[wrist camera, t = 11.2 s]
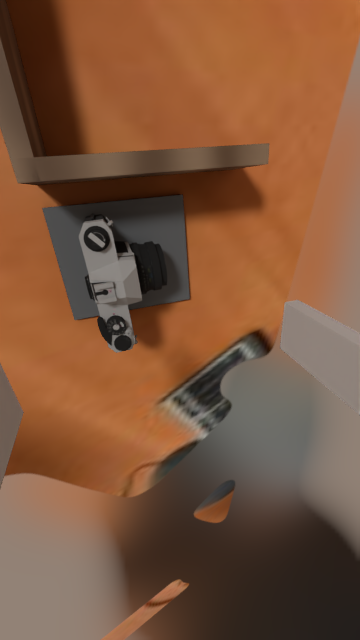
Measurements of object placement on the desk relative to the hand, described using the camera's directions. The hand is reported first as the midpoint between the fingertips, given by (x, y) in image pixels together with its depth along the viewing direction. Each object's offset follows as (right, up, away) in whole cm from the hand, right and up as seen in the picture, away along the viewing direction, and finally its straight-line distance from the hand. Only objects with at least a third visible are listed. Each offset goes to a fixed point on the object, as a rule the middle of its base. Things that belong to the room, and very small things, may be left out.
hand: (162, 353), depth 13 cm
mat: (-5, +9, +18) cm, 20 cm away
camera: (-5, +7, +18) cm, 20 cm away
